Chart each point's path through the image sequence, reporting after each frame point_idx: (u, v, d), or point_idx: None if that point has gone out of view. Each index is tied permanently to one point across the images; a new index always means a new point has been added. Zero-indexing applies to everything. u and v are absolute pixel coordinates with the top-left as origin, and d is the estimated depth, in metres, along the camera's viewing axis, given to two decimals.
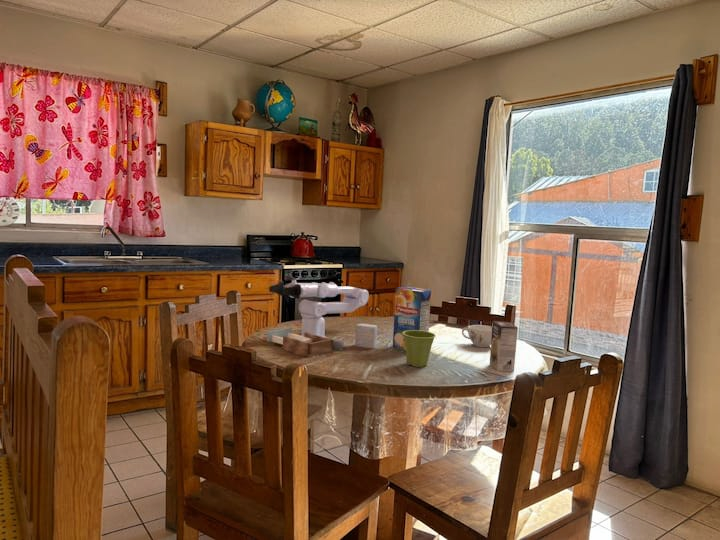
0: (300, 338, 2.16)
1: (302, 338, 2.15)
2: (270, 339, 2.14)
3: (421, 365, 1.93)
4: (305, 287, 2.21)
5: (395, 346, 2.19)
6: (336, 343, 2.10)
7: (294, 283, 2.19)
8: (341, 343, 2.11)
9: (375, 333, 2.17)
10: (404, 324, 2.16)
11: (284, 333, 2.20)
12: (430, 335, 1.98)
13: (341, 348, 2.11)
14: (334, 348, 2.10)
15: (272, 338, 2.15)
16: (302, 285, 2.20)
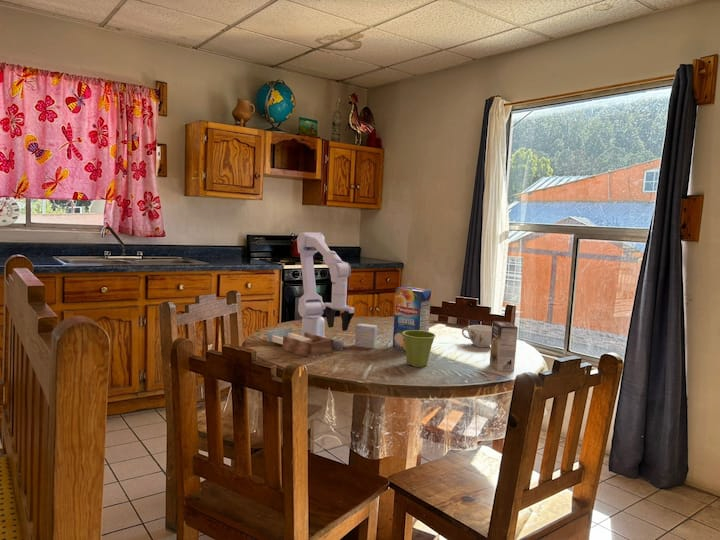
0: (300, 338, 2.16)
1: (302, 338, 2.15)
2: (270, 339, 2.14)
3: (421, 365, 1.93)
4: (341, 296, 2.08)
5: (395, 346, 2.19)
6: (336, 343, 2.10)
7: (335, 308, 2.08)
8: (341, 343, 2.11)
9: (375, 333, 2.17)
10: (404, 324, 2.16)
11: (284, 333, 2.20)
12: (430, 335, 1.98)
13: (341, 348, 2.11)
14: (334, 348, 2.10)
15: (272, 338, 2.15)
16: (338, 299, 2.08)
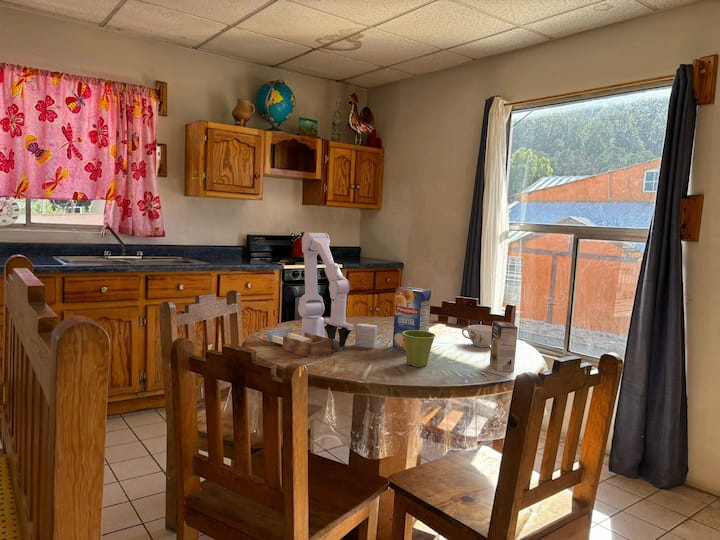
0: (300, 338, 2.16)
1: (302, 338, 2.15)
2: (270, 339, 2.14)
3: (421, 365, 1.93)
4: (340, 313, 2.09)
5: (395, 346, 2.19)
6: (336, 343, 2.10)
7: (334, 324, 2.09)
8: None
9: (375, 333, 2.17)
10: (404, 324, 2.16)
11: (284, 333, 2.20)
12: (430, 335, 1.98)
13: (341, 348, 2.11)
14: (334, 348, 2.10)
15: (272, 338, 2.15)
16: (338, 316, 2.09)
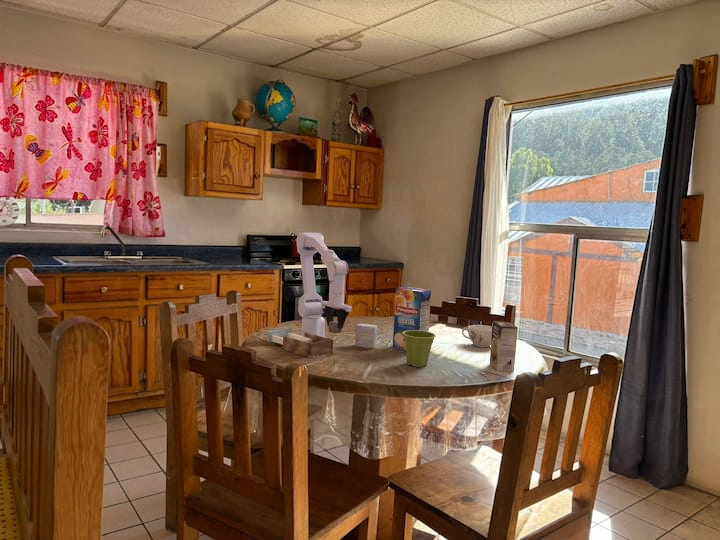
0: (300, 338, 2.16)
1: (302, 338, 2.15)
2: (270, 339, 2.14)
3: (421, 365, 1.93)
4: (338, 295, 2.08)
5: (395, 346, 2.19)
6: (334, 325, 2.09)
7: (332, 306, 2.08)
8: None
9: (375, 333, 2.17)
10: (404, 324, 2.16)
11: (284, 333, 2.20)
12: (430, 335, 1.98)
13: (339, 330, 2.10)
14: (332, 330, 2.10)
15: (272, 338, 2.15)
16: (336, 298, 2.08)
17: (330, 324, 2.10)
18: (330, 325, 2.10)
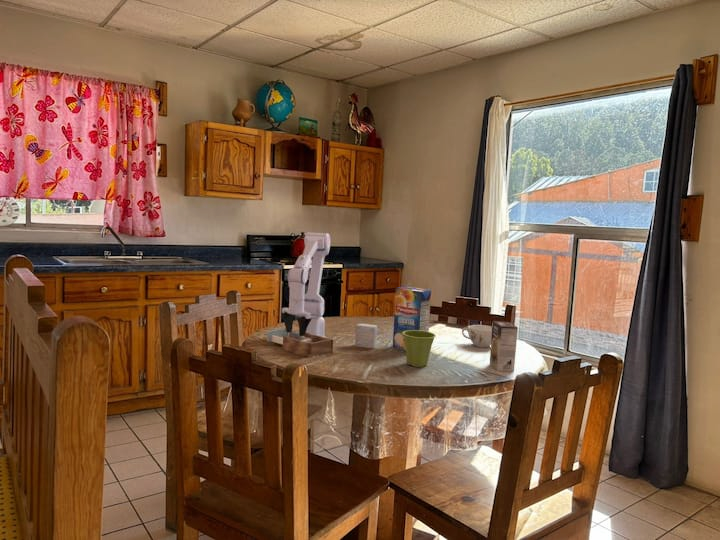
0: None
1: (302, 338, 2.15)
2: (270, 339, 2.14)
3: (421, 365, 1.93)
4: (298, 302, 2.08)
5: (395, 346, 2.19)
6: (293, 335, 2.10)
7: None
8: (299, 335, 2.10)
9: (375, 333, 2.17)
10: (404, 324, 2.16)
11: (284, 333, 2.20)
12: (430, 335, 1.98)
13: None
14: None
15: (272, 338, 2.15)
16: (295, 305, 2.08)
17: (290, 334, 2.11)
18: (290, 335, 2.11)
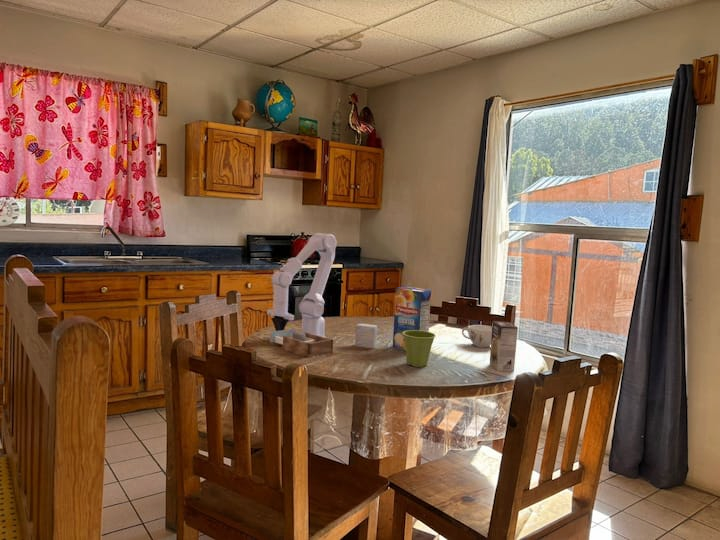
0: None
1: (305, 339, 2.14)
2: (273, 340, 2.13)
3: (421, 365, 1.93)
4: (282, 304, 2.15)
5: (395, 346, 2.19)
6: (296, 336, 2.09)
7: None
8: (302, 336, 2.09)
9: (375, 333, 2.17)
10: (404, 324, 2.16)
11: (287, 334, 2.18)
12: (430, 335, 1.98)
13: None
14: None
15: (275, 339, 2.13)
16: (279, 307, 2.15)
17: (293, 335, 2.10)
18: (293, 336, 2.10)
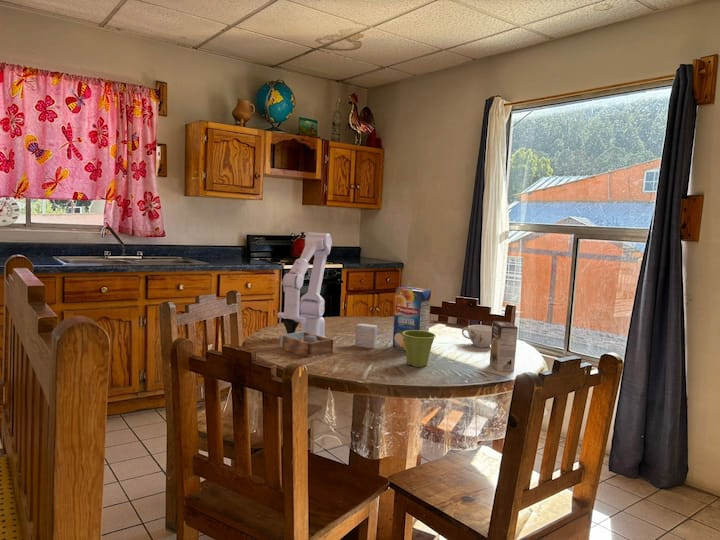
0: None
1: None
2: None
3: (421, 365, 1.93)
4: (293, 307, 2.10)
5: (395, 346, 2.19)
6: (308, 339, 2.04)
7: (287, 318, 2.11)
8: (313, 339, 2.05)
9: (375, 333, 2.17)
10: (404, 324, 2.16)
11: (297, 337, 2.14)
12: (430, 335, 1.98)
13: None
14: None
15: None
16: (290, 310, 2.10)
17: (304, 338, 2.05)
18: (304, 339, 2.05)
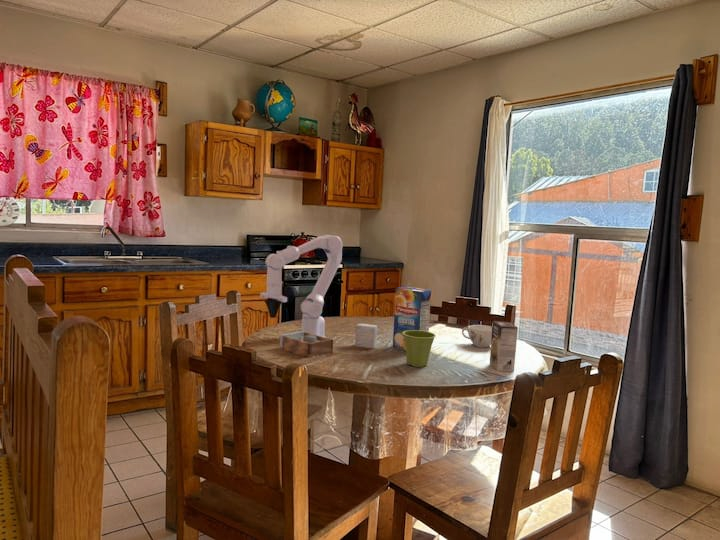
0: None
1: None
2: None
3: (421, 365, 1.93)
4: (275, 286, 2.17)
5: (395, 346, 2.19)
6: (307, 339, 2.05)
7: None
8: (313, 339, 2.05)
9: (375, 333, 2.17)
10: (404, 324, 2.16)
11: (297, 337, 2.14)
12: (430, 335, 1.98)
13: None
14: None
15: None
16: (272, 289, 2.17)
17: (304, 338, 2.05)
18: (304, 339, 2.05)
